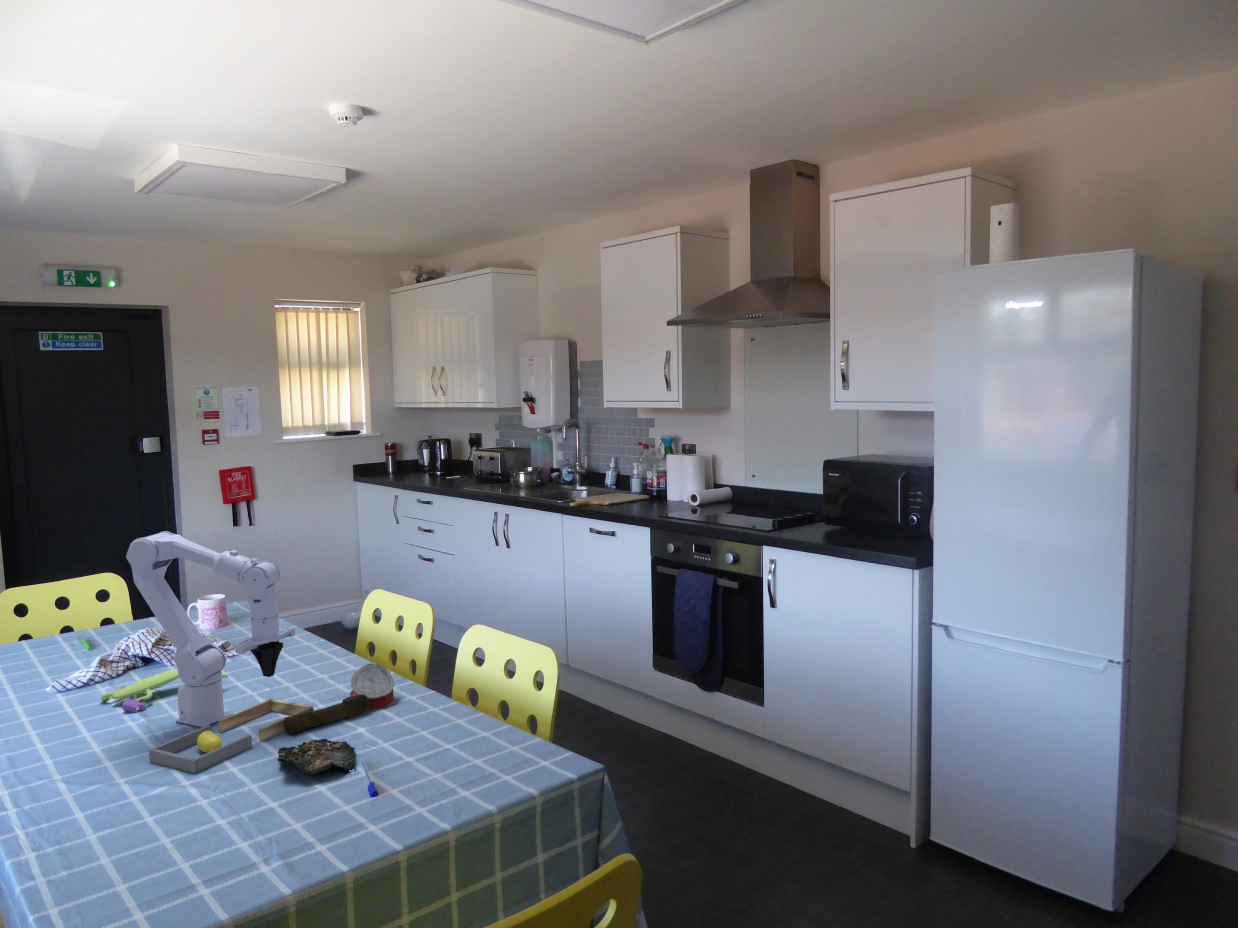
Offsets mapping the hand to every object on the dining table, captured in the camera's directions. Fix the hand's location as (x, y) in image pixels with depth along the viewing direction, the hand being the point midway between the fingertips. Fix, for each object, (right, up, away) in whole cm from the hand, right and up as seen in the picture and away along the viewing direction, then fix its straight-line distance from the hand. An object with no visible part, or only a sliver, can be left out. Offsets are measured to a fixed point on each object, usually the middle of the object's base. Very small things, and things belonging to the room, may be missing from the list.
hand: (268, 675), depth 186 cm
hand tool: (+14, -10, -2) cm, 18 cm away
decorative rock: (+19, -12, -23) cm, 32 cm away
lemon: (-6, -12, -15) cm, 20 cm away
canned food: (+21, -9, +8) cm, 24 cm away
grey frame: (-6, -12, -17) cm, 22 cm away
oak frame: (+1, -10, -3) cm, 11 cm away
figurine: (-33, -10, +19) cm, 40 cm away
